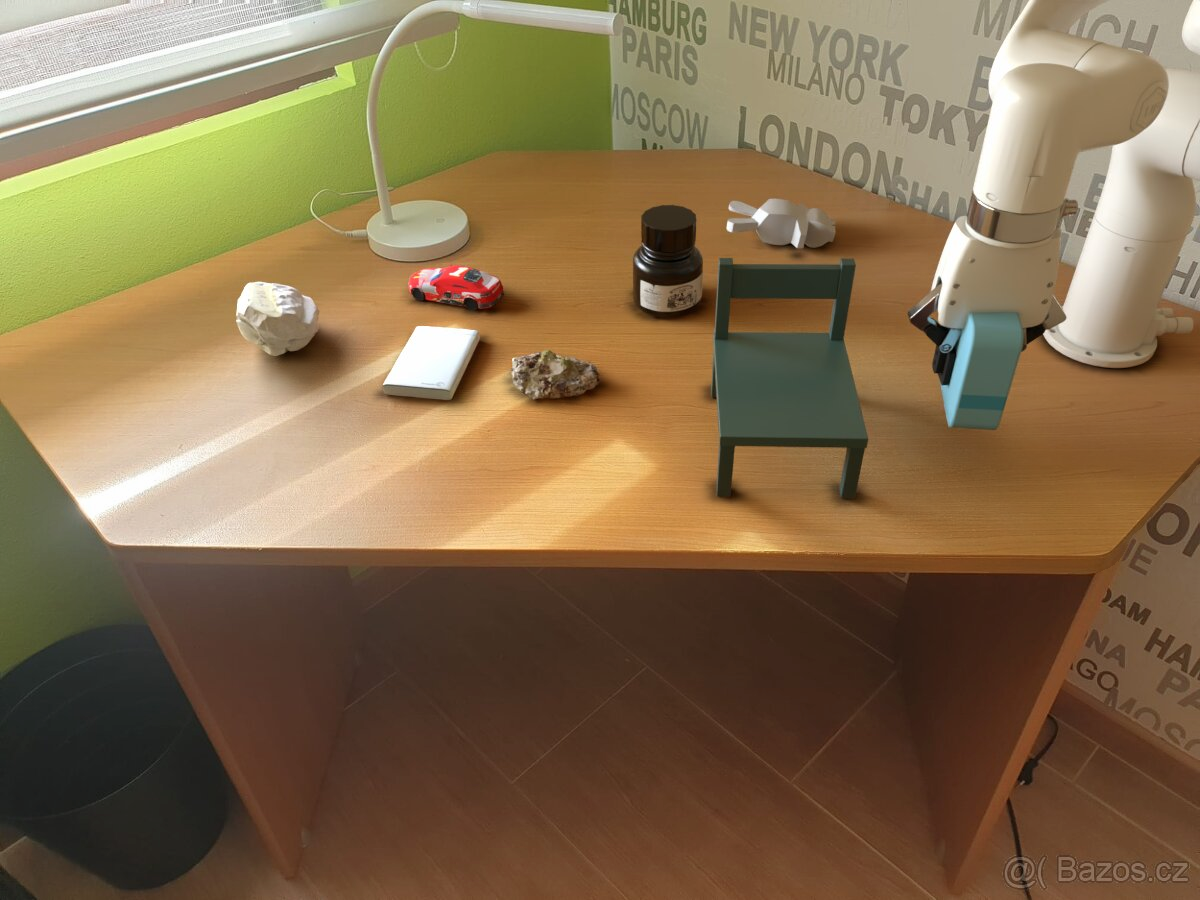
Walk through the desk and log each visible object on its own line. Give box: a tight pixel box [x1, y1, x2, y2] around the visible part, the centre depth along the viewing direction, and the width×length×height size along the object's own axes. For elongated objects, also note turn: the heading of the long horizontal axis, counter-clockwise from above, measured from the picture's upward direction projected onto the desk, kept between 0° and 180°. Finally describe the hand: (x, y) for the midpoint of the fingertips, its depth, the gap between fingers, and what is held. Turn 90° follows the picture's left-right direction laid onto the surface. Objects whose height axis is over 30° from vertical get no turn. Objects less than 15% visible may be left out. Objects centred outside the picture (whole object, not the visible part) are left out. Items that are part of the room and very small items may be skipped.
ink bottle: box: [632, 204, 704, 319], centre depth 121 cm, size 10×9×12 cm
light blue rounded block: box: [939, 312, 1023, 431], centre depth 94 cm, size 12×4×12 cm, turn 171°
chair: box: [710, 257, 869, 500], centre depth 97 cm, size 14×18×17 cm
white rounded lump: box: [235, 281, 320, 357], centre depth 117 cm, size 12×8×10 cm
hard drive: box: [382, 325, 481, 401], centre depth 115 cm, size 2×8×12 cm
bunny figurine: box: [726, 198, 836, 249], centre depth 135 cm, size 10×5×15 cm
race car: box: [407, 264, 505, 311], centre depth 126 cm, size 13×5×4 cm, turn 68°
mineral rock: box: [510, 349, 602, 400], centre depth 111 cm, size 11×4×8 cm
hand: (970, 375), depth 97 cm, fingers closed on light blue rounded block, 4 cm apart
